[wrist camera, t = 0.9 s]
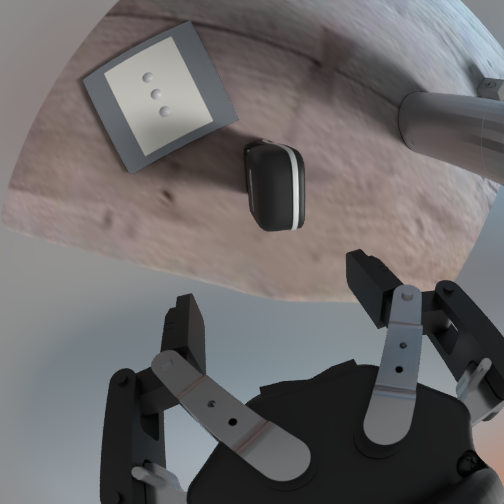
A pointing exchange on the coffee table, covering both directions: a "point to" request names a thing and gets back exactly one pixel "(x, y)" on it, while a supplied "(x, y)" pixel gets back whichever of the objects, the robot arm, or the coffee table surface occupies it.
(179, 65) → the pad
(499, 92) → the dice cube
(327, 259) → the coffee table surface
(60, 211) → the coffee table surface
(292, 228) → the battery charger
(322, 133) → the coffee table surface
